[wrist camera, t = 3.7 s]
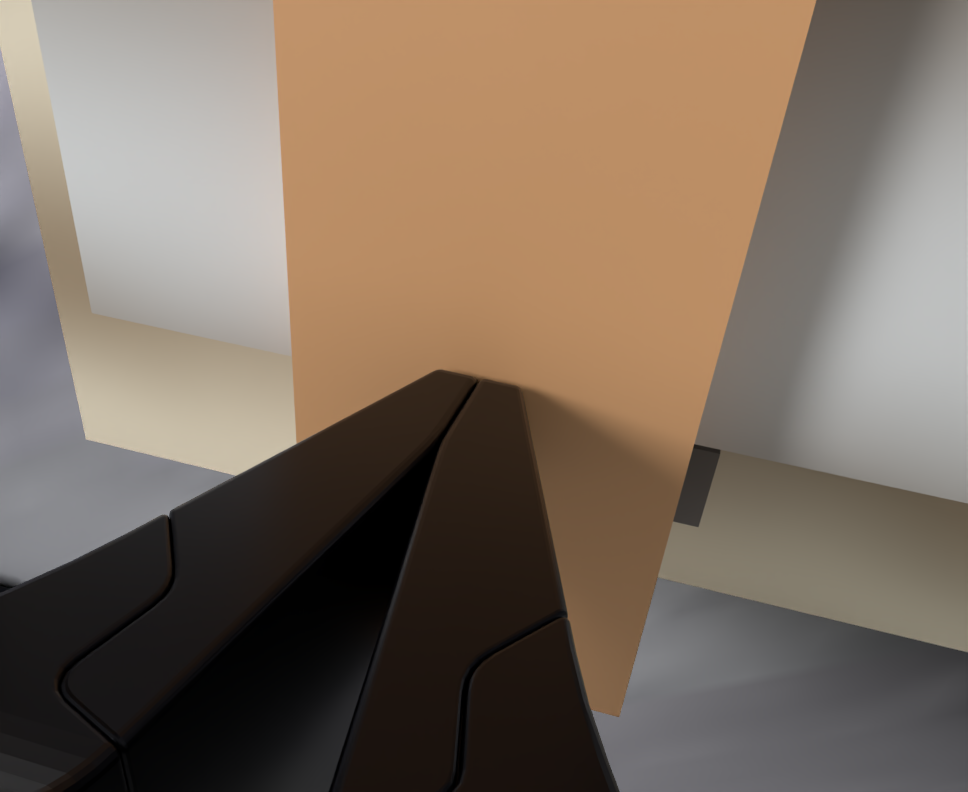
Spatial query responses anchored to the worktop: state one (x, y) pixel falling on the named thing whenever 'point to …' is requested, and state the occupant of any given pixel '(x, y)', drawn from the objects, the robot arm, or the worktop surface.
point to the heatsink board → (747, 340)
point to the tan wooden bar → (535, 239)
